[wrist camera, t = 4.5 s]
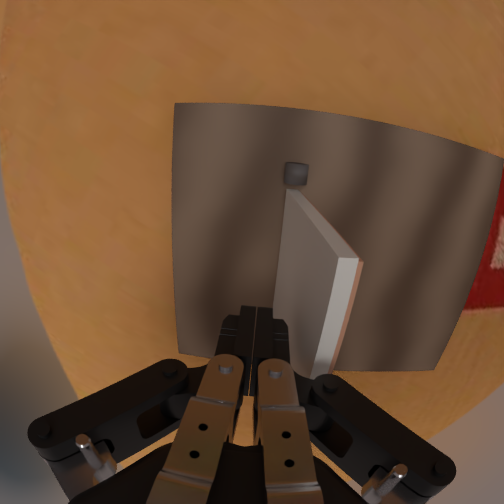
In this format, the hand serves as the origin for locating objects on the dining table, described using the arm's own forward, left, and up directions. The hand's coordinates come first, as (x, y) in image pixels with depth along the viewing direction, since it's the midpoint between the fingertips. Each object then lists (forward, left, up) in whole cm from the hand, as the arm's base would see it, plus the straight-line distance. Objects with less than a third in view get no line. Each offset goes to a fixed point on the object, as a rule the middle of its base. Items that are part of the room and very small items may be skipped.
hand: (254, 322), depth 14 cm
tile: (-2, 0, -2) cm, 3 cm away
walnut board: (-5, 0, -9) cm, 10 cm away
